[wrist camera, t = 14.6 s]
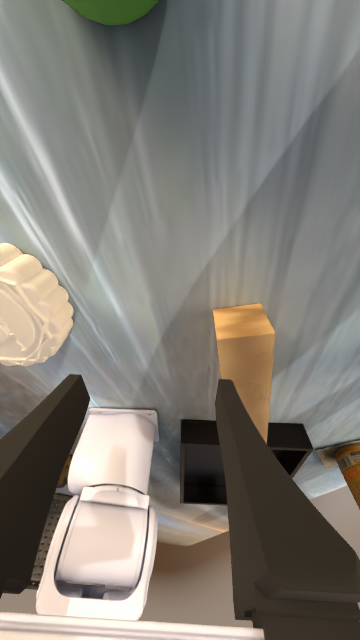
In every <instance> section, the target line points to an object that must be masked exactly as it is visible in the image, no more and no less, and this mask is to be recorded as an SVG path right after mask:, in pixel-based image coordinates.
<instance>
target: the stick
mask: <svg viewBox="0 0 360 640" xmlns="http://www.w3.org/2000/svg"><path fill="white" fill-rule="evenodd" d="M213 317H214V325H215V333H216V342H217V350H218V359H219V367H220V375H221V379H231V380H232V381H233V383H234V385H235V388H236V390H237V392H238V394H239V396H240V399H241V401H242V403H243V404H244V406H245V408H246V410H247V412H248V414H249V416H250V417H251V419H252V421H253V423H254V424H255V426H256V428H257V429H258V431H259V433H260V434H261V436H262V437H263V439H264V441H265V442H266V444H267V434H268V421H269V408H270V395H271V382H272V368H273V355H274V342H275V332H274V330H273V328H272V326H271V324H270V322H269V319H268V317H267V315H266V313H265V311H264V309H263V307H262V305H261V303H259V304H251V305H243V306H236V307H228V308H221V309H213Z"/></svg>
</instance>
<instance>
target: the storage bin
mask: <svg viewBox="0 0 360 640" xmlns="http://www.w3.org/2000/svg"><path fill="white" fill-rule="evenodd" d="M72 498H73V497H70V496H64V495H58V494H54V497H53V500H52V503H51V507H50V510H49V513H48V516H47V520H46V523H45V527H44V530H43V534H42V538H41V541H40V545H39V549H38V553H37V556H36V557H37V558H38V559H36V560H35V564H34V568H33V572H32V576H31V581H30V584H29V585H28V586H27V587H26V589H35V590H38V588H39V585H38V584H40V582H41V579H42V576H43V573H44V567H45V562H46V558H47V554H48V551H49V548H50V545H51V541H52V538H53V535H54V533H55V530H56V527H57V524H58V522H59V519H60V517H61V514H62V512H63V510H64V507H65V505H66V504H67V502H68V501H69V500H70V499H72ZM47 530H49V531H47ZM44 536H46V537H44ZM43 558H44V559H43ZM42 559H43V560H42ZM40 565H41V566H40ZM66 582H68V583H70V584H73V585H84V586H95V587H105V585H103V584H92V583H81V582H70V581H66ZM32 583H35V584H32Z"/></svg>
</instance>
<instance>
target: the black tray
mask: <svg viewBox="0 0 360 640" xmlns="http://www.w3.org/2000/svg"><path fill="white" fill-rule="evenodd" d="M267 445H268V447H269V448H270V450H271V451H272V453H273V454H274V455H275V457H276V458H277V460H278V461H279V462H280V464H281V465H282V466H283V468H284V469H285V470H286V472H287V473H288V474H289V476H290V477H291V478H293V477H294V475H295V474H296V472H297V471H298V470H299V468H300V467H301V466H302V464H303V463H304V461H305V460H306V459H307V457H308V456H309V455H310V453H311V452H312V450H313V447H312V444H311V442H310V440H309V437H308V435H307V433H306V430H305V428H304V426H303V424H288V423H268V434H267ZM180 503H184V504H205V505H226V506H228V505H227V493H226V480H225V472H224V466H223V460H222V454H221V447H220V441H219V435H218V429H217V422H216V421H207V420H181V474H180Z"/></svg>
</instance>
